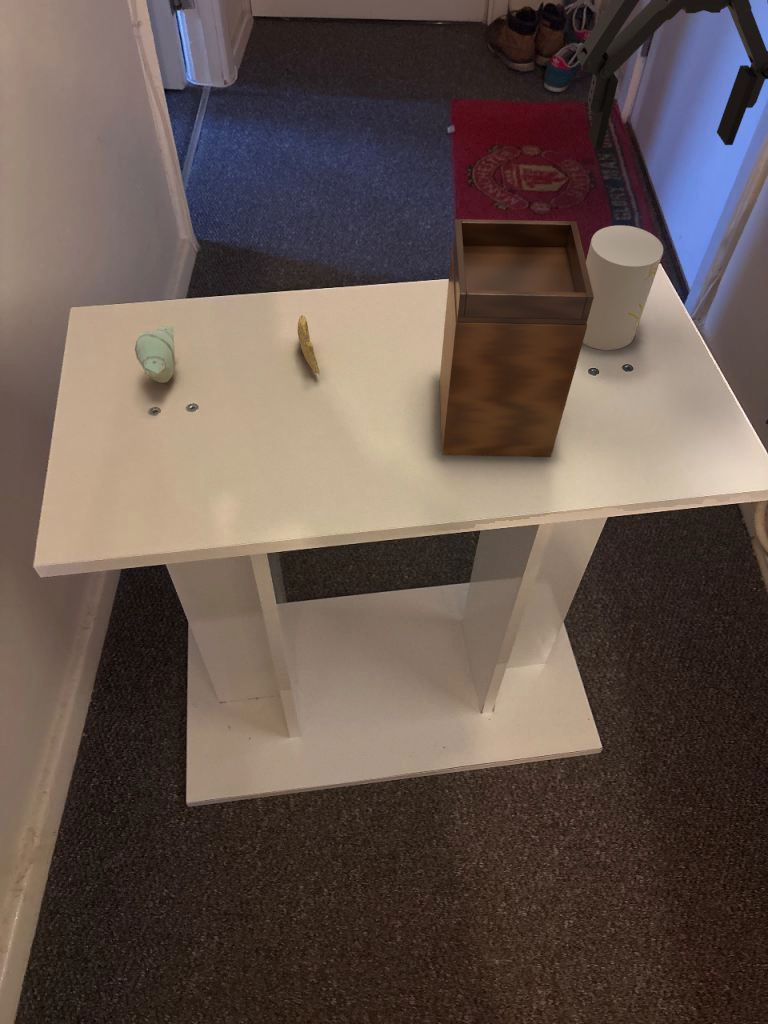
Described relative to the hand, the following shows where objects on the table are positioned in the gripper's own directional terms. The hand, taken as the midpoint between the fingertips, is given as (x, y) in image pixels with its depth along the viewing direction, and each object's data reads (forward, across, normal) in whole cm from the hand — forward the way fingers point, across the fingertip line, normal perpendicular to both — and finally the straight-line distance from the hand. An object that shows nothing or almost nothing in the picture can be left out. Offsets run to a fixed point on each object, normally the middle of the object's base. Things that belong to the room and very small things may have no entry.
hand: (660, 140), depth 78 cm
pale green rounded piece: (+24, +55, +7) cm, 61 cm away
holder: (+6, +17, +15) cm, 24 cm away
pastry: (+24, +38, +4) cm, 45 cm away
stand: (+24, +17, +15) cm, 33 cm away
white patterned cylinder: (+24, 0, +1) cm, 24 cm away
